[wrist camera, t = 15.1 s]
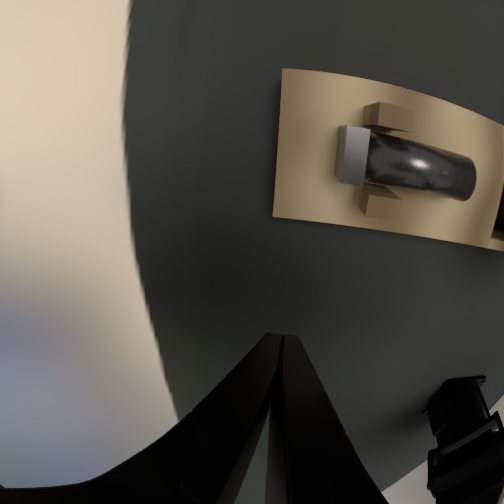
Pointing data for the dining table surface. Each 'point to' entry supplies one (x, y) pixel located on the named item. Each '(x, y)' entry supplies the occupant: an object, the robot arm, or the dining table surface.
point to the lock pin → (402, 164)
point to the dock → (390, 123)
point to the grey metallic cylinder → (501, 207)
